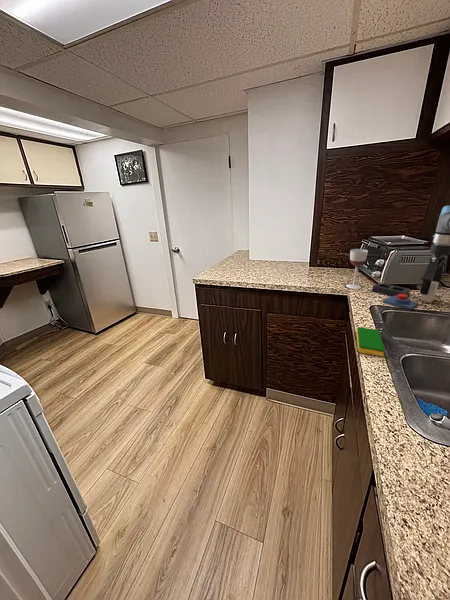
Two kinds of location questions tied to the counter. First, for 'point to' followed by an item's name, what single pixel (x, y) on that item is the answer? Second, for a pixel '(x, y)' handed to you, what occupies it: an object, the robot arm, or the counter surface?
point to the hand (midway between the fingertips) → (429, 290)
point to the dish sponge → (369, 341)
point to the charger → (430, 292)
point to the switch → (402, 296)
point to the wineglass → (357, 263)
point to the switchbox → (401, 302)
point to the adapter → (390, 289)
